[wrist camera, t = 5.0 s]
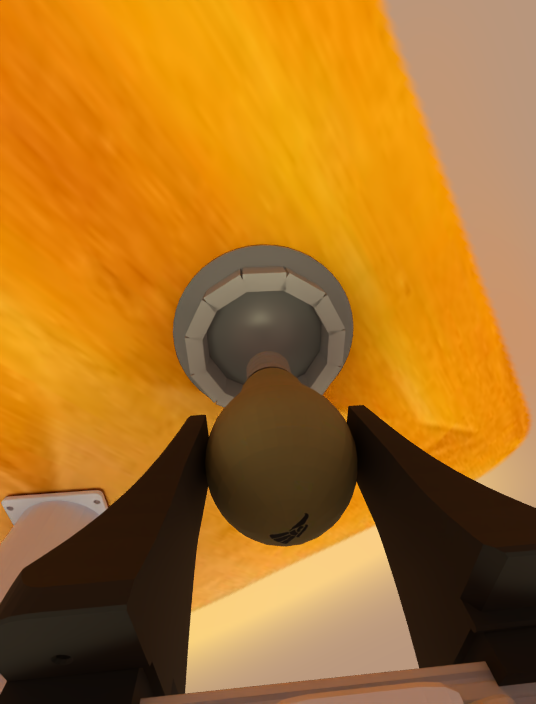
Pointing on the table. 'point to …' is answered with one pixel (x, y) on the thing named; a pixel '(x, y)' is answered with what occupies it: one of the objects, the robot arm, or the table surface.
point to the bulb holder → (261, 320)
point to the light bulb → (280, 457)
